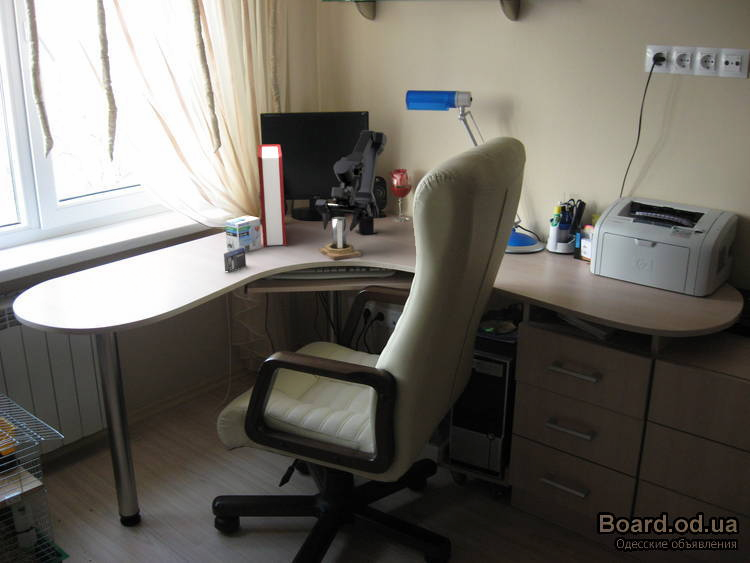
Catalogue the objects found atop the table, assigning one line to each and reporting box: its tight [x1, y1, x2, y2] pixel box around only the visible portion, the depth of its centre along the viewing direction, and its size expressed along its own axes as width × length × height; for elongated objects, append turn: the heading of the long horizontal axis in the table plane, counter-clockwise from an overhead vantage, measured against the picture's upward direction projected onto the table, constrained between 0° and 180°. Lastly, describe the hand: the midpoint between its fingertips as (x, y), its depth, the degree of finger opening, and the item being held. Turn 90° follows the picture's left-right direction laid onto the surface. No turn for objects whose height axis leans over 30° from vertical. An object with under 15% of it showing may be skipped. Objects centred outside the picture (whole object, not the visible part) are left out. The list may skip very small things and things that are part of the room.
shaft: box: [330, 216, 348, 249], centre depth 249 cm, size 5×5×11 cm
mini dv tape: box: [223, 248, 247, 273], centre depth 235 cm, size 8×2×6 cm, turn 149°
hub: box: [318, 242, 362, 261], centre depth 250 cm, size 12×10×3 cm
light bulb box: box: [224, 215, 262, 253], centre depth 255 cm, size 11×7×11 cm, turn 143°
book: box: [257, 143, 287, 248], centre depth 267 cm, size 27×8×32 cm, turn 8°
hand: (337, 229), depth 247 cm, fingers open, 9 cm apart
